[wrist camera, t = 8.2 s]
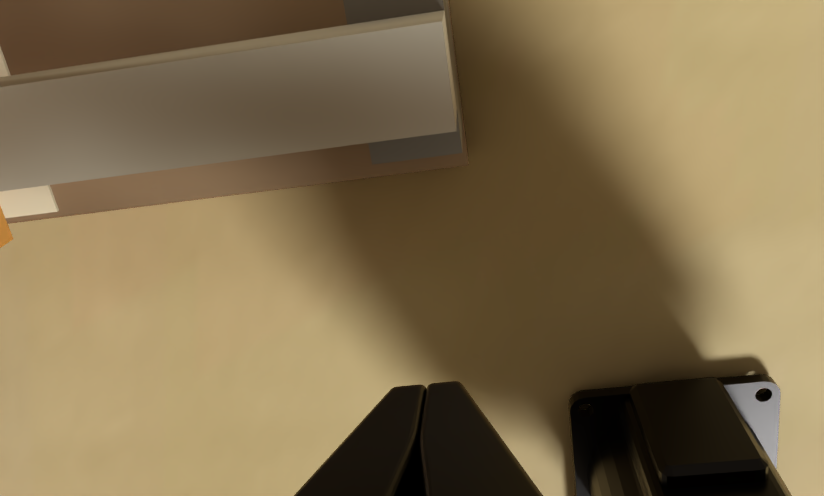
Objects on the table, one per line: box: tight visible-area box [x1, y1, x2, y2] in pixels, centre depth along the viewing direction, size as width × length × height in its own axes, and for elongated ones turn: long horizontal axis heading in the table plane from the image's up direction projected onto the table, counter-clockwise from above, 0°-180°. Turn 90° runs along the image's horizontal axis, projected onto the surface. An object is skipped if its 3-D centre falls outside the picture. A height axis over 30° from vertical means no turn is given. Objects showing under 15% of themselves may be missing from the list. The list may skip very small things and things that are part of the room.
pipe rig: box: [0, 0, 468, 224], centre depth 18 cm, size 7×19×7 cm, turn 99°
